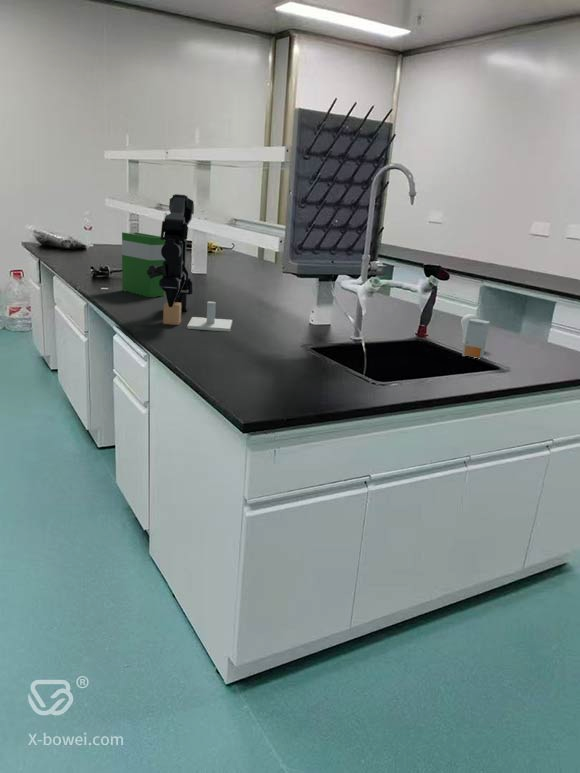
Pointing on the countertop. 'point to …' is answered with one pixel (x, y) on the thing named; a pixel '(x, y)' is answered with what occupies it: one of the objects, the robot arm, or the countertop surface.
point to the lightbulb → (466, 324)
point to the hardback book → (141, 263)
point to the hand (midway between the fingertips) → (172, 304)
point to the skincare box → (476, 338)
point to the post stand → (210, 321)
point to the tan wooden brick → (172, 313)
